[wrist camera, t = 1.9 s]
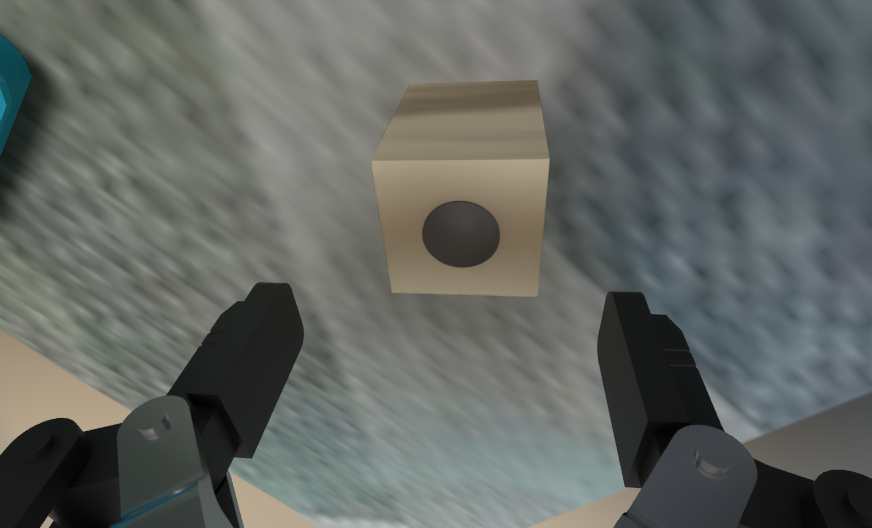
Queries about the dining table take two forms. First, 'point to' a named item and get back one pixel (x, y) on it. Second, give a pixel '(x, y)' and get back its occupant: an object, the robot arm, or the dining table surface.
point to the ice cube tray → (11, 87)
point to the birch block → (464, 189)
